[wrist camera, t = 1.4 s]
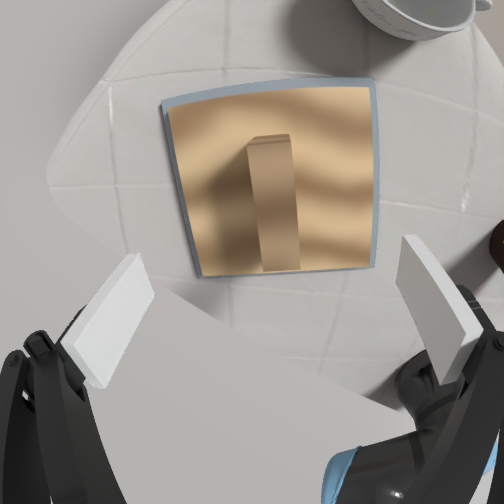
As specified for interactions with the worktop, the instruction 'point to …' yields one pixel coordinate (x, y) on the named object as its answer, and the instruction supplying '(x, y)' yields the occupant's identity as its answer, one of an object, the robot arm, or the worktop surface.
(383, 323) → the worktop surface
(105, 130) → the worktop surface
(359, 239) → the cover board
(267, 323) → the worktop surface
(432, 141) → the worktop surface
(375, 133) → the mat
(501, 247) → the coffee mug
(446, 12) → the teacup
